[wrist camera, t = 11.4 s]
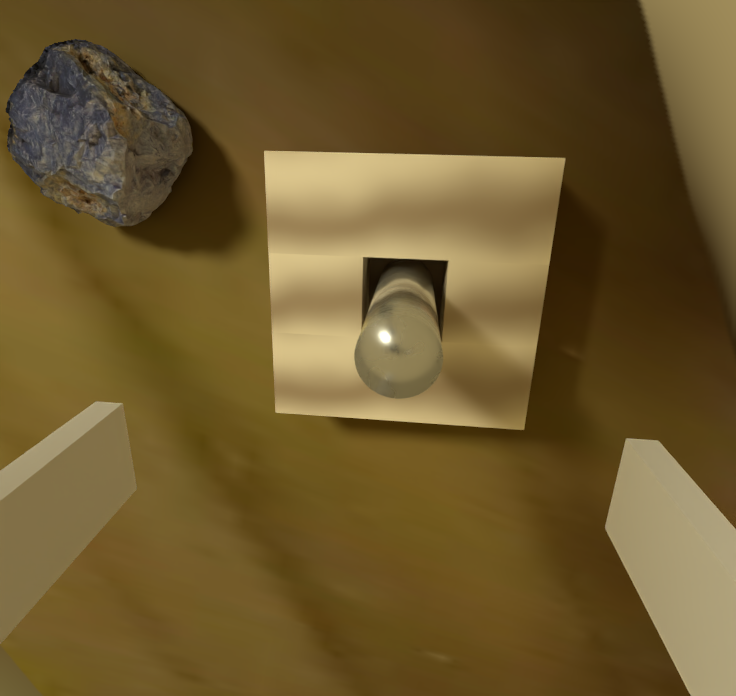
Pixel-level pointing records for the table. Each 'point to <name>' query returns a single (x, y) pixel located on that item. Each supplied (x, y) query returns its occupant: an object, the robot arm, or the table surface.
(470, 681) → the table surface
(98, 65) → the rock
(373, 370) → the pin
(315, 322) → the bore block
